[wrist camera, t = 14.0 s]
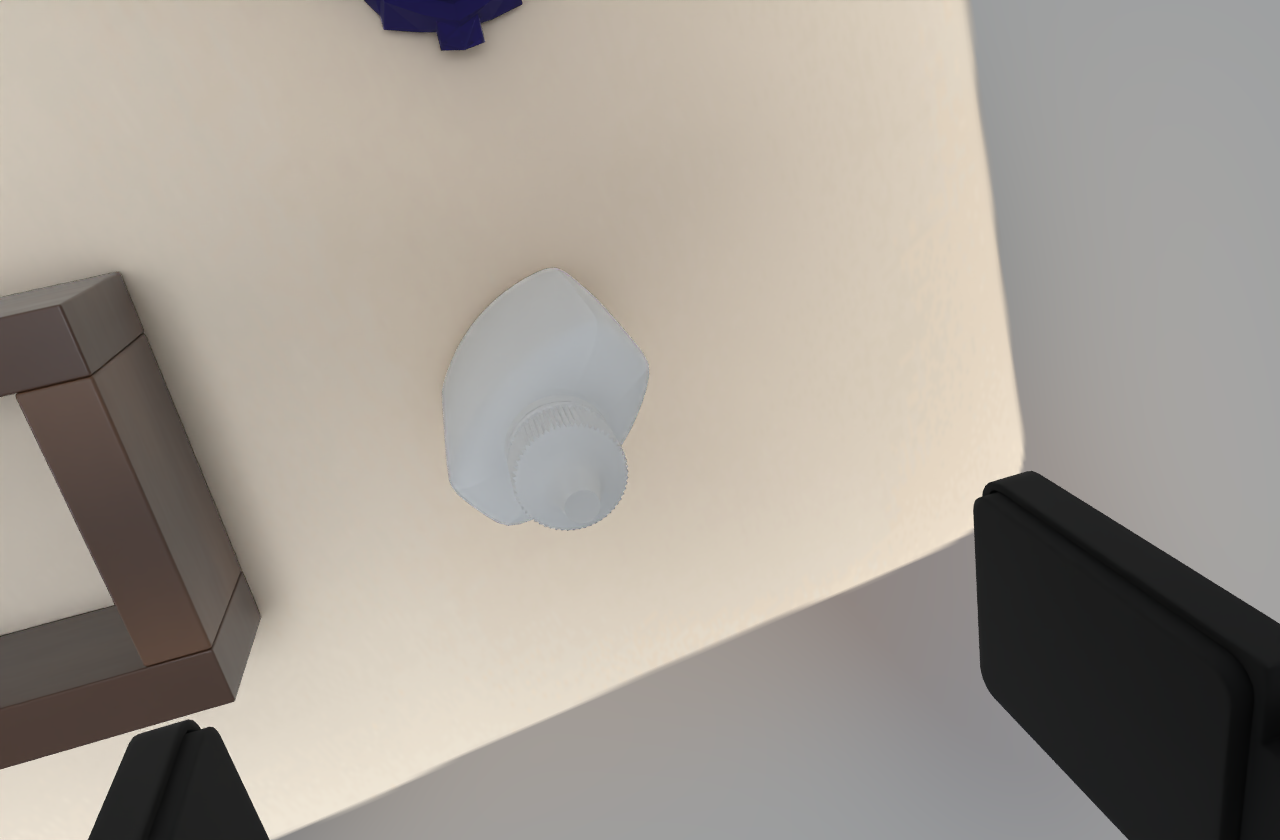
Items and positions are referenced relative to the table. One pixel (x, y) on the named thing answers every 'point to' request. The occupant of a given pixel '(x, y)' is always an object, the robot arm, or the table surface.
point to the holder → (117, 533)
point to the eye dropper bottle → (542, 405)
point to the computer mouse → (442, 18)
